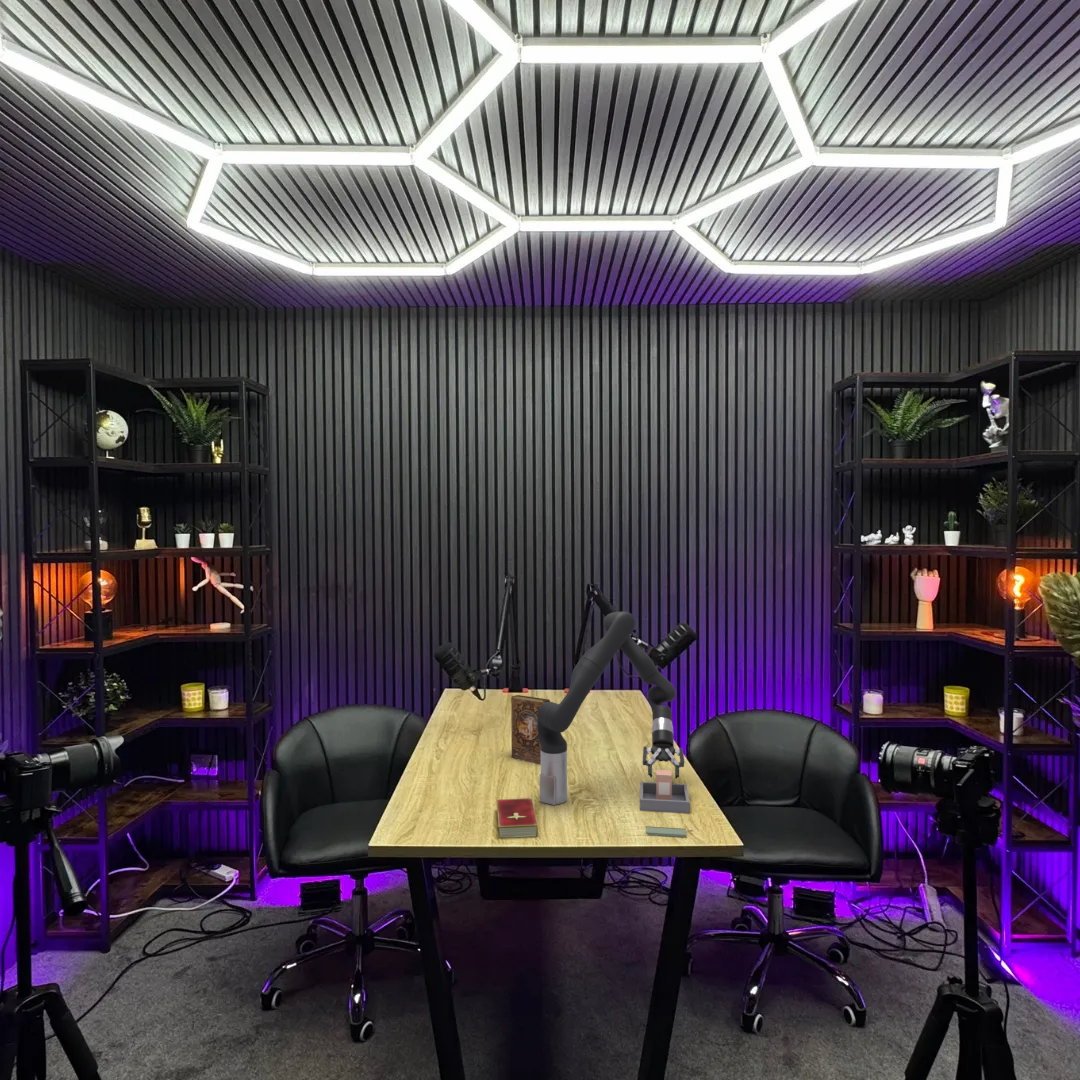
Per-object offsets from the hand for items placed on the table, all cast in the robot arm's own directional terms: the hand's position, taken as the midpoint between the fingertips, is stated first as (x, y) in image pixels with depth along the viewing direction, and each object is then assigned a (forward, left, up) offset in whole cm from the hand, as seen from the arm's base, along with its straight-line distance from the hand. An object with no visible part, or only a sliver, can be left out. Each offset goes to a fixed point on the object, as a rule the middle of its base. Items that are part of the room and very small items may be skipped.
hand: (663, 776), depth 229 cm
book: (+12, +63, -9) cm, 65 cm away
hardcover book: (-40, +34, -9) cm, 53 cm away
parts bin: (-2, -1, -9) cm, 9 cm away
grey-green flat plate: (-18, -8, -9) cm, 22 cm away
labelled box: (-2, -1, -8) cm, 8 cm away
